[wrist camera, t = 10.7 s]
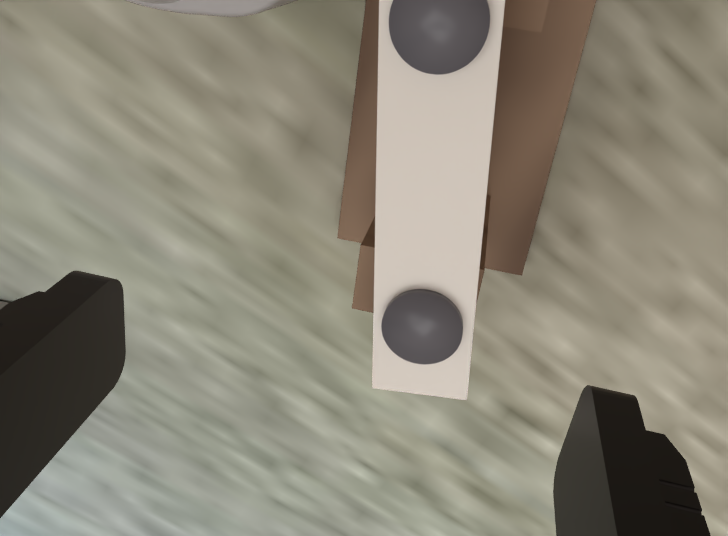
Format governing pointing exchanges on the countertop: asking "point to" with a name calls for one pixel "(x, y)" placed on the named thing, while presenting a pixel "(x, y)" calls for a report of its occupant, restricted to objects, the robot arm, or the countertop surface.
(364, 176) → the stand
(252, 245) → the countertop surface
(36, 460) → the robot arm
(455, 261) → the frame bar
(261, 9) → the paw print tray
